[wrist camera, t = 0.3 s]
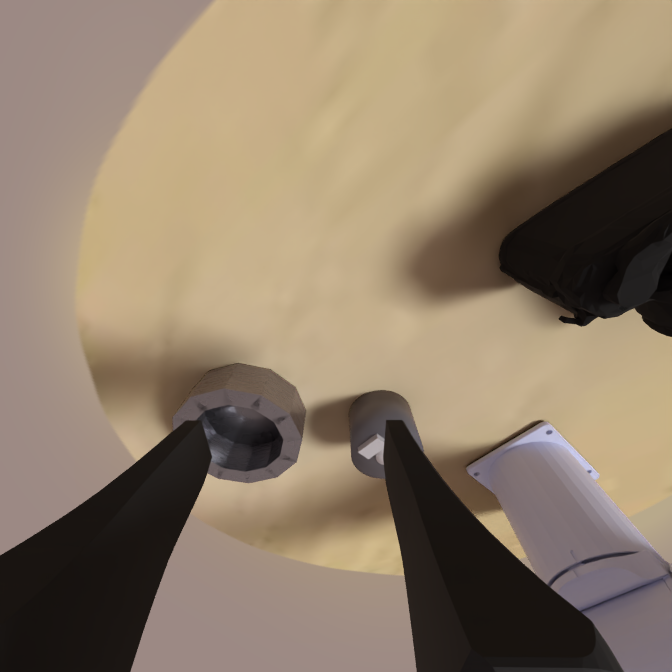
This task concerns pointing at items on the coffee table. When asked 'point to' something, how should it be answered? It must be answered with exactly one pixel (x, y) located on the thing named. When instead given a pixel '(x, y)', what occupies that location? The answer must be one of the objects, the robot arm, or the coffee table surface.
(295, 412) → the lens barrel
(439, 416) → the coffee table surface
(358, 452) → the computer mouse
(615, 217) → the film camera
